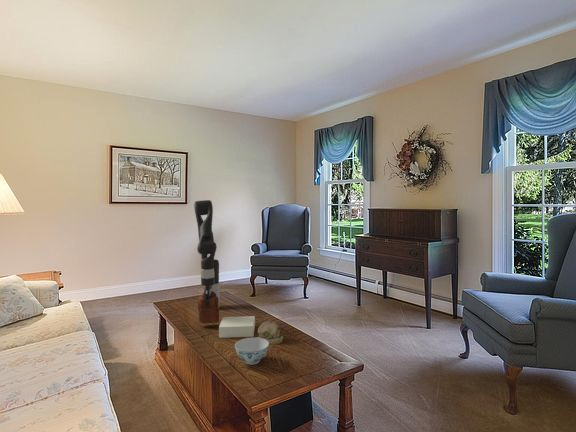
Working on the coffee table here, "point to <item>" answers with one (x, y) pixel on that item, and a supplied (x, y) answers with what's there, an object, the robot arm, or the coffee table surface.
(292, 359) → the coffee table surface
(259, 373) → the coffee table surface
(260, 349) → the chinaware
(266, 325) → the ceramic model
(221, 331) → the cream white square block
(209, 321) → the wooden figurine
